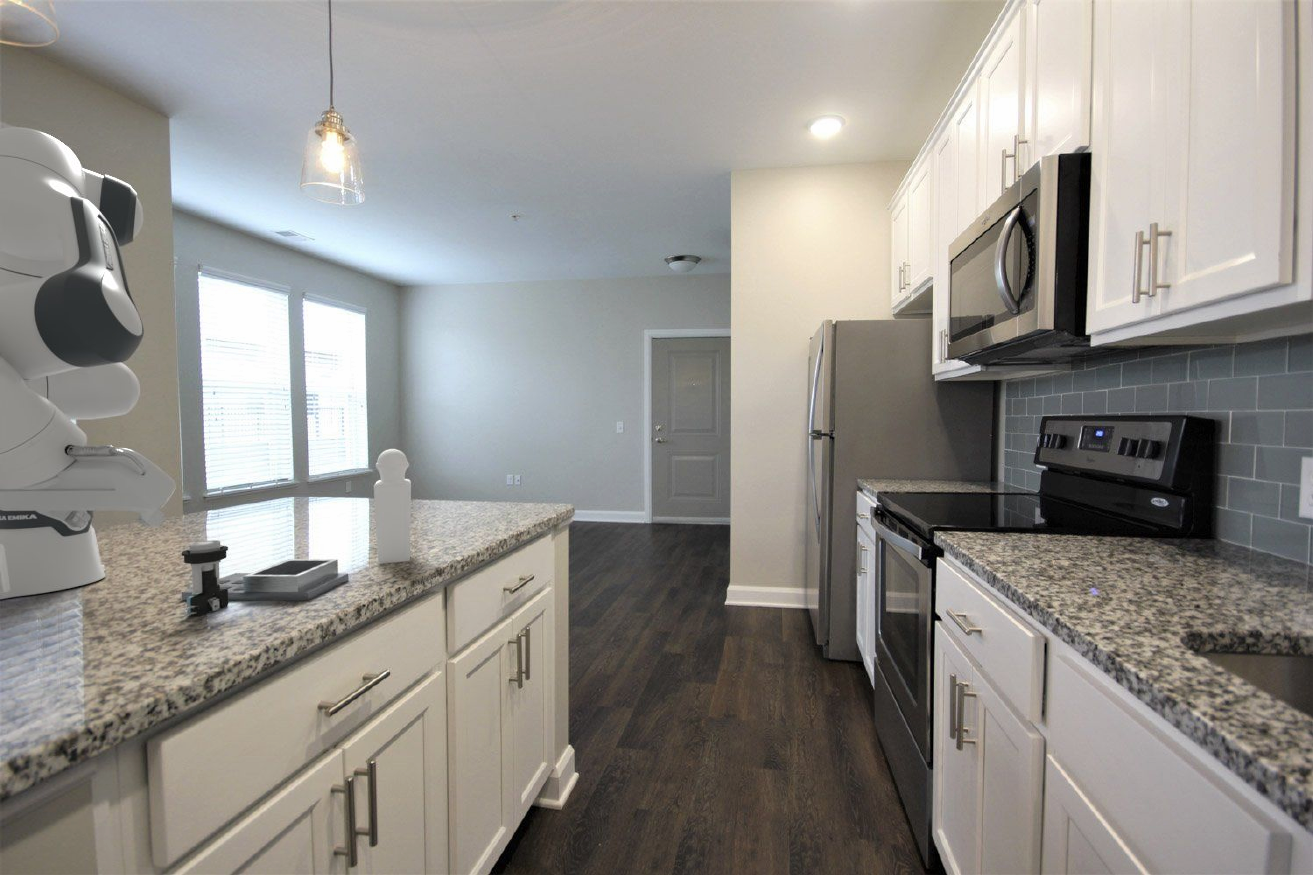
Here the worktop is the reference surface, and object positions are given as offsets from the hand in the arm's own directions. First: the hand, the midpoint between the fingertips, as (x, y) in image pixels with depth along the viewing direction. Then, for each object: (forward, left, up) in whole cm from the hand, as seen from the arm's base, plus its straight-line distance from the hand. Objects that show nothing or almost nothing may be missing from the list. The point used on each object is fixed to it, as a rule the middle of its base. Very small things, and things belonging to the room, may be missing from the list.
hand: (119, 522), depth 71 cm
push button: (0, +12, -16) cm, 20 cm away
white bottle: (+13, +43, -16) cm, 48 cm away
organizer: (+2, +23, -15) cm, 28 cm away
